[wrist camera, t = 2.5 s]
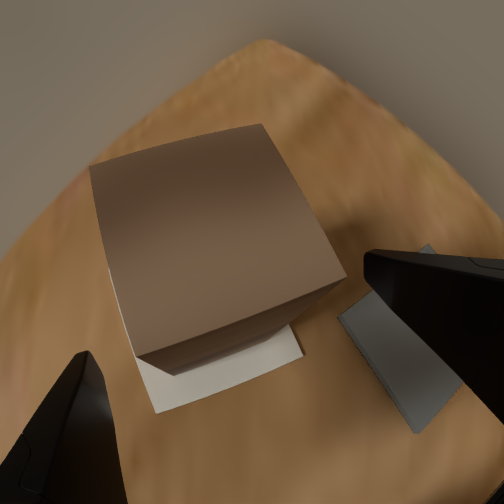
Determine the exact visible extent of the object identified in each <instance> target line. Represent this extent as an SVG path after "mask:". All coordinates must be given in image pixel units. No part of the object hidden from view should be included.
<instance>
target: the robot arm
mask: <svg viewBox="0 0 504 504" xmlns="http://www.w3.org/2000/svg"><path fill="white" fill-rule="evenodd" d="M364 278H365V280H366V282H367V283H368V284H369V285H370V286H371V287H372V289H373V290H374V291H375V292H376V293H377V294H378V296H379V297H380V298H381V299H382V300H383V301H384V302H385V304H386V305H387V306H388V307H389V308H390V309H391V310H392V311H393V312H394V313H395V314H396V315H397V316H398V317H399V318H400V319H401V320H402V321H403V322H404V323H405V324H406V325H407V326H408V327H409V328H410V329H411V330H412V331H413V332H414V333H415V334H416V335H417V336H419V337H420V338H421V339H422V340H423V341H424V342H425V343H426V344H427V345H428V346H429V347H430V348H431V349H432V350H433V351H434V352H435V353H436V354H437V355H438V356H439V357H440V358H441V359H442V360H443V361H444V362H445V363H446V364H447V365H448V366H449V367H450V368H451V369H452V370H453V371H454V372H455V373H456V374H457V375H458V376H459V377H460V379H461V380H462V381H463V382H464V383H465V384H466V385H467V386H468V387H469V388H470V389H471V390H472V391H473V392H474V393H475V394H476V395H477V397H478V398H479V399H480V400H481V401H482V402H483V403H484V404H485V405H486V406H487V407H488V408H489V409H490V410H491V411H492V413H493V414H494V415H495V416H496V417H497V418H498V419H499V420H500V421H501V422H502V423H503V425H504V260H503V259H486V258H474V257H463V256H452V255H440V254H429V253H418V252H406V251H394V250H382V249H373V250H371V251H368V252H366V253H365V254H364ZM22 433H23V434H21V435H20V436H19V438H18V439H17V441H16V443H15V444H14V446H13V447H12V449H11V450H10V452H9V453H8V455H7V456H6V458H5V459H4V461H3V462H2V464H1V465H0V504H128V502H127V497H126V492H125V487H124V482H123V477H122V472H121V466H120V460H119V454H118V448H117V441H116V434H115V427H114V421H113V416H112V412H111V408H110V404H109V399H108V395H107V390H106V385H105V380H104V376H103V374H102V372H101V370H100V368H99V366H98V364H97V363H96V361H95V359H94V357H93V355H92V354H91V353H90V351H83V352H80V353H77V354H76V355H75V356H74V357H73V359H72V360H71V361H70V363H69V364H68V365H67V367H66V368H65V370H64V371H63V372H62V374H61V375H60V377H59V378H58V379H57V381H56V382H55V384H54V385H53V387H52V388H51V390H50V391H49V392H48V394H47V395H46V397H45V398H44V400H43V401H42V403H41V404H40V406H39V407H38V409H37V410H36V412H35V413H34V415H33V416H32V418H31V419H30V421H29V422H28V424H27V425H26V427H25V428H24V430H23V432H22ZM482 504H504V480H503V481H502V482H501V484H500V485H499V486H498V487H497V488H496V489H495V490H494V491H493V493H492V494H491V495H490V496H489V497H488V498H487V499H486V500H485V501H484V502H483V503H482Z"/></svg>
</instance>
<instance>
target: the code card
mask: <svg viewBox="0 0 504 504" xmlns="http://www.w3.org/2000/svg"><path fill="white" fill-rule="evenodd" d="M108 269H109V268H108ZM109 273H110V270H109ZM110 277H111V274H110ZM111 281H112V278H111ZM112 285H113V282H112ZM113 288H114V285H113ZM114 292H115V289H114ZM115 296H116V293H115ZM116 299H117V296H116ZM117 303H118V300H117ZM118 306H119V303H118ZM119 310H120V307H119ZM120 313H121V310H120ZM121 316H122V313H121ZM122 320H123V317H122ZM123 323H124V320H123ZM124 326H125V323H124ZM125 329H126V326H125ZM126 332H127V330H126ZM127 335H128V333H127ZM128 339H129V336H128ZM129 342H130V339H129ZM130 345H131V342H130ZM131 348H132V345H131ZM132 351H133V348H132ZM133 353H134V351H133ZM134 356H135V354H134ZM302 356H303V354H302V352H301V350H300V348H299V345H298V343H297V341H296V339H295V337H294V334H293V332H292V330H291V328H290V326H289V324H288V325H286V326H285V327H284V328H282V329H281V330H280V331H278V332H277V333H276V334H274V335H273V336H272V337H270V338H269V339H268V340H267V341H265V342H262V343H260V344H257V345H255V346H253V347H250V348H248V349H245V350H243V351H240V352H237V353H235V354H232V355H230V356H227V357H225V358H222V359H219V360H217V361H214V362H211V363H209V364H206V365H203V366H200V367H198V368H195V369H192V370H189V371H186V372H184V373H181V374H178V375H175V376H172V375H170V374H168V373H166V372H164V371H162V370H160V369H158V368H156V367H154V366H152V365H150V364H148V363H146V362H144V361H142V360H140V359H138V358H137V357H135V359H136V362H137V365H138V368H139V370H140V373H141V376H142V379H143V381H144V384H145V387H146V389H147V392H148V394H149V397H150V399H151V402H152V404H153V407H154V409H155V412H156V414H157V413H160V412H163V411H167V410H170V409H173V408H176V407H178V406H181V405H184V404H187V403H190V402H193V401H196V400H198V399H201V398H204V397H207V396H209V395H212V394H215V393H217V392H220V391H223V390H225V389H228V388H230V387H233V386H235V385H238V384H240V383H243V382H245V381H248V380H250V379H253V378H255V377H257V376H260V375H262V374H264V373H267V372H269V371H271V370H274V369H276V368H278V367H280V366H283V365H285V364H287V363H289V362H292V361H294V360H296V359H298V358H300V357H302Z"/></svg>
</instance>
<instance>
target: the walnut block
mask: <svg viewBox="0 0 504 504" xmlns="http://www.w3.org/2000/svg"><path fill="white" fill-rule="evenodd" d="M89 171H90V177H91V183H92V189H93V195H94V201H95V206H96V212H97V217H98V222H99V227H100V231H101V236H102V241H103V245H104V249H105V254H106V258H107V262H108V266H109V270H110V274H111V278H112V282H113V285H114V289H115V293H116V296H117V300H118V303H119V307H120V310H121V313H122V317H123V320H124V323H125V326H126V330H127V333H128V336H129V339H130V342H131V345H132V348H133V351H134V354H135V357H137V358H138V359H140V360H142V361H144V362H146V363H148V364H150V365H152V366H154V367H156V368H158V369H160V370H162V371H164V372H166V373H168V374H170V375H172V376H175V375H178V374H181V373H184V372H186V371H189V370H192V369H195V368H198V367H200V366H203V365H206V364H209V363H211V362H214V361H217V360H219V359H222V358H225V357H227V356H230V355H232V354H235V353H237V352H240V351H243V350H245V349H248V348H250V347H253V346H255V345H257V344H260V343H262V342H265V341H267V340H268V339H269V338H270V337H272V336H273V335H274V334H276V333H277V332H278V331H280V330H281V329H282V328H284V327H285V326H286V325H288V324H289V323H290V322H291V321H293V320H294V319H295V318H297V317H298V316H299V315H300V314H302V313H303V312H304V311H305V310H307V309H308V308H309V307H311V306H312V305H313V304H314V303H316V302H317V301H318V300H319V299H321V298H322V297H323V296H324V295H325V294H327V293H328V292H329V291H330V290H332V289H333V288H334V287H335V286H336V285H338V284H339V283H340V282H341V281H342V280H344V279H345V278H346V277H347V275H346V273H345V271H344V269H343V267H342V265H341V263H340V261H339V259H338V257H337V255H336V253H335V252H334V250H333V248H332V246H331V244H330V242H329V240H328V238H327V236H326V235H325V233H324V231H323V229H322V227H321V225H320V223H319V222H318V220H317V218H316V216H315V214H314V212H313V211H312V209H311V207H310V205H309V203H308V202H307V200H306V198H305V196H304V195H303V193H302V191H301V189H300V188H299V186H298V184H297V182H296V181H295V179H294V177H293V175H292V174H291V172H290V170H289V168H288V167H287V165H286V163H285V162H284V160H283V158H282V157H281V155H280V153H279V152H278V150H277V148H276V147H275V145H274V143H273V142H272V140H271V138H270V137H269V135H268V133H267V132H266V130H265V129H264V127H263V125H262V124H255V125H250V126H244V127H239V128H234V129H229V130H224V131H219V132H214V133H210V134H205V135H201V136H196V137H192V138H188V139H183V140H179V141H175V142H171V143H167V144H163V145H160V146H156V147H152V148H148V149H145V150H141V151H138V152H134V153H131V154H127V155H124V156H121V157H117V158H114V159H111V160H108V161H105V162H102V163H98V164H95V165H92V166H89Z"/></svg>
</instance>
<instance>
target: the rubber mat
mask: <svg viewBox="0 0 504 504" xmlns="http://www.w3.org/2000/svg"><path fill="white" fill-rule="evenodd" d="M418 253H429V254H436V253H435V252H434V250H433V249H432V248H431V246H430V245H429V244H427V245H426V246H425V247H423V248H422V249H421V250H420V251H419V252H418ZM338 319H339V320H340V322H341V323H342V325H343V326H344V328H345V329H346V330H347V332H348V333H349V335H350V336H351V338H352V339H353V341H354V342H355V344H356V345H357V347H358V348H359V350H360V351H361V353H362V354H363V356H364V357H365V359H366V360H367V362H368V363H369V365H370V366H371V368H372V369H373V371H374V372H375V374H376V375H377V377H378V378H379V380H380V381H381V383H382V384H383V386H384V387H385V389H386V391H387V392H388V394H389V395H390V397H391V398H392V400H393V401H394V403H395V404H396V406H397V407H398V409H399V411H400V412H401V414H402V415H403V417H404V418H405V420H406V422H407V423H408V425H409V426H410V428H411V429H412V431H413V433H417V434H419V433H420V432H421V431H422V430H423V429H424V428H425V427H426V426H427V425H428V423H429V422H430V421H431V420H432V419H433V418H434V417H435V416H436V414H437V413H438V412H439V411H440V410H441V409H442V408H443V406H444V405H445V404H446V403H447V402H448V400H449V399H450V398H451V397H452V395H453V394H454V393H455V392H456V390H457V389H458V388H459V387H460V385H461V384H462V383H463V381H462V380H461V379H460V377H459V376H458V375H457V374H456V373H455V372H454V371H453V370H452V369H451V368H450V367H449V366H448V365H447V364H446V363H445V362H444V361H443V360H442V359H441V358H440V357H439V356H438V355H437V354H436V353H435V352H434V351H433V350H432V349H431V348H430V347H429V346H428V345H427V344H426V343H425V342H424V341H423V340H422V339H421V338H420V337H419V336H417V335H416V334H415V333H414V332H413V331H412V330H411V329H410V328H409V327H408V326H407V325H406V324H405V323H404V322H403V321H402V320H401V319H400V318H399V317H398V316H397V315H396V314H395V313H394V312H393V311H392V310H391V309H390V308H389V307H388V306H387V305H386V304H385V302H384V301H383V300H382V299H381V298H380V297H379V296H378V294H377V293H376V292H375V291H374V290H372V291H371V292H369V293H368V294H367V295H365V296H364V297H363V298H362V299H360V300H359V301H358V302H356V303H355V304H354V305H353V306H351V307H350V308H349V309H347V310H346V311H345V312H343V313H342V314H341V315H339V316H338Z"/></svg>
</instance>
